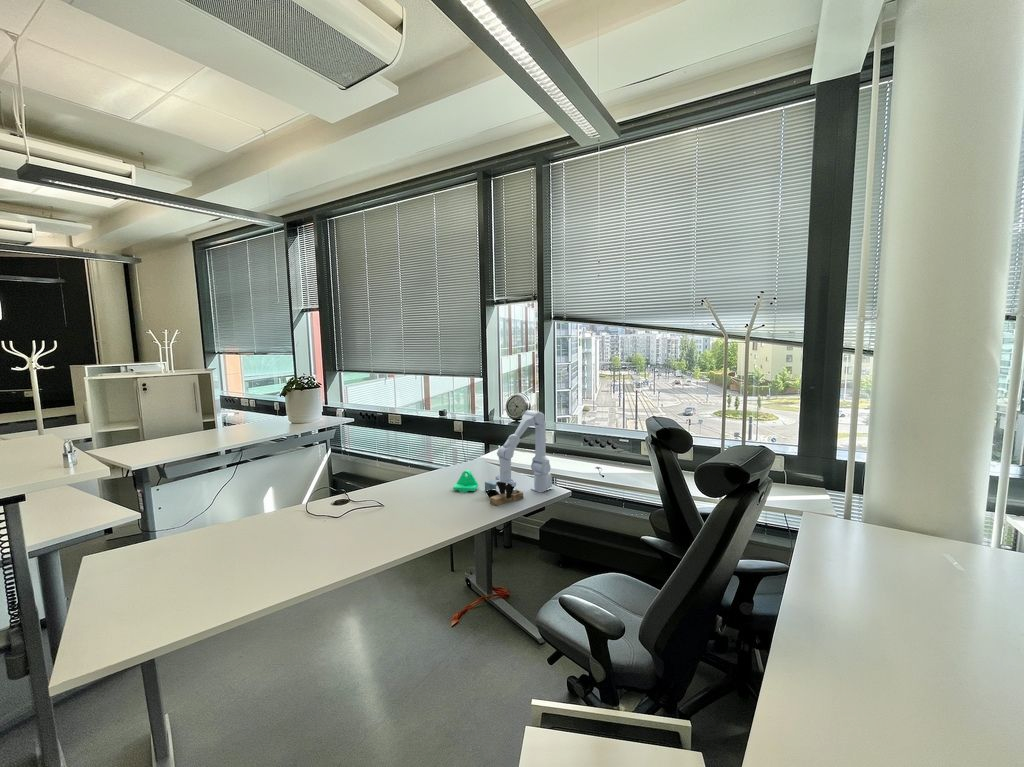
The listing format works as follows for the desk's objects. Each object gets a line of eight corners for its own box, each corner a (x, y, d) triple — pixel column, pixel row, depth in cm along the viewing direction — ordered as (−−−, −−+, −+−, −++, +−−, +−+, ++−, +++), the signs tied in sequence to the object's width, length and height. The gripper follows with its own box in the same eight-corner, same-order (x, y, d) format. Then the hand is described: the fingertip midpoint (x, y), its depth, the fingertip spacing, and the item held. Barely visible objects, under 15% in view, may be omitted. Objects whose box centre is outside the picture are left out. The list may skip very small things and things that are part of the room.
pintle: (514, 496, 231) (514, 488, 231) (517, 498, 230) (517, 489, 229) (511, 497, 230) (510, 489, 229) (513, 499, 228) (513, 490, 228)
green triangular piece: (452, 491, 241) (452, 473, 240) (457, 487, 248) (456, 469, 247) (474, 493, 238) (473, 474, 237) (478, 488, 246) (477, 470, 245)
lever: (515, 494, 234) (515, 489, 234) (523, 497, 229) (523, 492, 229) (488, 502, 224) (488, 496, 223) (496, 506, 219) (496, 500, 218)
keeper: (484, 491, 240) (484, 481, 240) (491, 488, 244) (491, 479, 243) (494, 494, 235) (494, 484, 235) (501, 491, 239) (501, 482, 239)
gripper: (490, 468, 228) (491, 494, 229) (508, 475, 217) (508, 502, 218) (501, 466, 232) (501, 491, 234) (519, 472, 221) (519, 499, 222)
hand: (505, 496), depth 226 cm, fingers closed on lever, 4 cm apart
